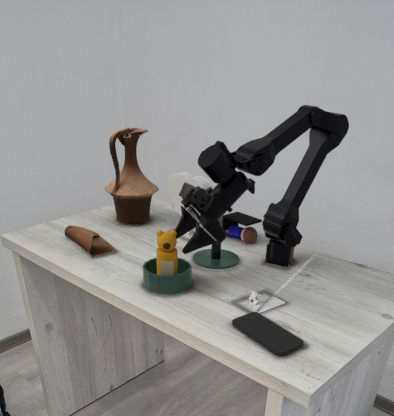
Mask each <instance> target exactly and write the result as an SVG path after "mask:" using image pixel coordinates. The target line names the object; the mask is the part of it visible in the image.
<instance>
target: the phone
mask: <svg viewBox="0 0 394 416" xmlns="http://www.w3.org/2000/svg"><path fill="white" fill-rule="evenodd" d="M231 325H232V326H233V327H234V328H236V329H238V330H239V331H240V332H241V333H244V334H245V335H246V336H248V337H250V338H251V339H252V340H254V341H255V342H257V343H258V344H260V345H262V346H263V347H265V348H266V349H268V350H269V351H270V352H272V353H273V354H275V355H276V356H285V355H287V354H289V353H292V352H294V351H296V350H298V349H300V348H302V347H304V343H305V342H304V340H303V339H302V338H300V337H298V336H297V335H295V334H294V333H292V332H291V331H289V330H287V329H285V328H284V327H282V326H281V325H279V324H277V323H276V322H274V321H272V319H269V318H268V317H266V316H265V315H263V314H261V313H258V312H257V311H251V312H249V313H246V314H243V315H240V316H238V317H236V318H235V317H234V318H233V319H232V320H231Z"/></svg>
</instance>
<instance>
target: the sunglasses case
mask: <svg viewBox="0 0 394 416" xmlns="http://www.w3.org/2000/svg"><path fill="white" fill-rule="evenodd" d="M64 236H65V237H66V238H68V239H69V240H71V241H73V242H74V243H75V244H76V245H78V246H79V247H80V248H81V249H83V250H84V251H85V252H86V253H88V254H89V255H90V256H92V257H93V258H94V257H97V256H100V255H105V254H109V253H115V252H116V251H117V250H116V248H115V247H114V246H113V245H112V244H111V243H110V242H108V241H107V240H106V239H104V238H103V237H102V236H101V234H100V233H97V232H96V231H94V230H90V229H87V228H85V227H83V226H82V227H81V226H78V225H67V226H66V227H65V229H64Z"/></svg>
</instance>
